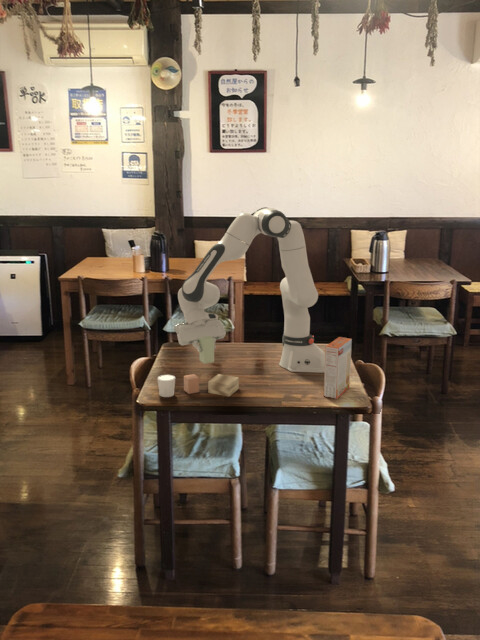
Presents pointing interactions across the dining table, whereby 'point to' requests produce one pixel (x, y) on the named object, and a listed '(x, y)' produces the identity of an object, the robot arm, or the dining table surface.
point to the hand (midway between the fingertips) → (207, 350)
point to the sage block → (206, 349)
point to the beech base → (223, 385)
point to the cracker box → (337, 367)
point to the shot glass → (166, 385)
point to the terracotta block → (191, 383)
